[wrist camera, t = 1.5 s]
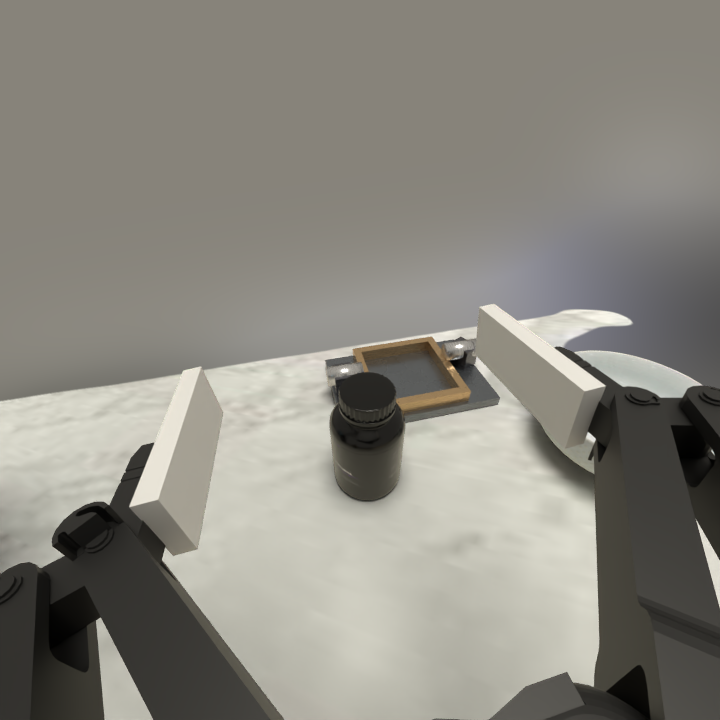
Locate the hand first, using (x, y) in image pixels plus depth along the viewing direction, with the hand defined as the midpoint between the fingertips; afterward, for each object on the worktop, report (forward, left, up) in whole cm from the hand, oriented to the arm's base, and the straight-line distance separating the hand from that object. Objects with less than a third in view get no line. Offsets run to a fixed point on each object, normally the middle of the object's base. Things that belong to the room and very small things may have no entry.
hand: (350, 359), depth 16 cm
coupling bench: (+4, +22, -21) cm, 30 cm away
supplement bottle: (0, +8, -21) cm, 23 cm away
